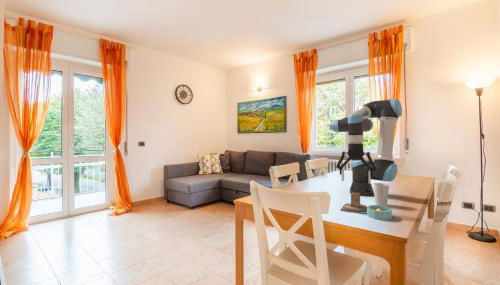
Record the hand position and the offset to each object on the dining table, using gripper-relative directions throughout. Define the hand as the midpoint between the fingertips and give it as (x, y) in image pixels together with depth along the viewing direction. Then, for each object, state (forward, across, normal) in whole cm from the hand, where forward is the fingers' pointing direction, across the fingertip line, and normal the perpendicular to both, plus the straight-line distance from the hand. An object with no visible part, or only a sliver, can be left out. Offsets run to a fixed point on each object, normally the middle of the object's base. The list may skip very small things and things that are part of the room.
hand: (355, 181), depth 132 cm
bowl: (+15, +12, -7) cm, 20 cm away
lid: (+14, 0, -1) cm, 14 cm away
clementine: (+13, +12, -7) cm, 18 cm away
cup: (+16, +11, +15) cm, 24 cm away
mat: (+15, 0, -1) cm, 15 cm away
